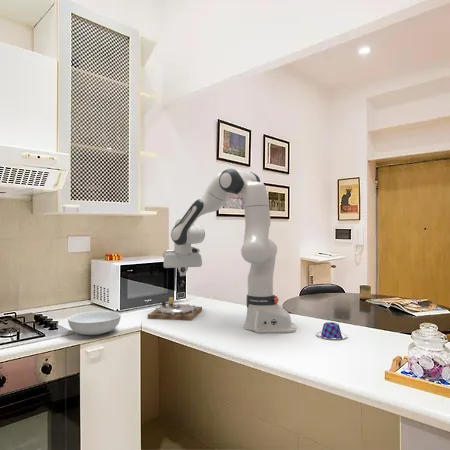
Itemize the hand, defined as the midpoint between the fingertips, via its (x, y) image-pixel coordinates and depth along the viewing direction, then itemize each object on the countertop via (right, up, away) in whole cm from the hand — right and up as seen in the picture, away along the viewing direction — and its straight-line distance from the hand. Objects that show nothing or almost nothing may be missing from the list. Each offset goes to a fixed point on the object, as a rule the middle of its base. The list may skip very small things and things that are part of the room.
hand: (182, 275), depth 195 cm
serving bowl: (-32, -18, -40) cm, 55 cm away
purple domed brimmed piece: (+65, -18, -47) cm, 82 cm away
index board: (-3, -19, -8) cm, 20 cm away
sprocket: (-3, -16, -8) cm, 18 cm away
